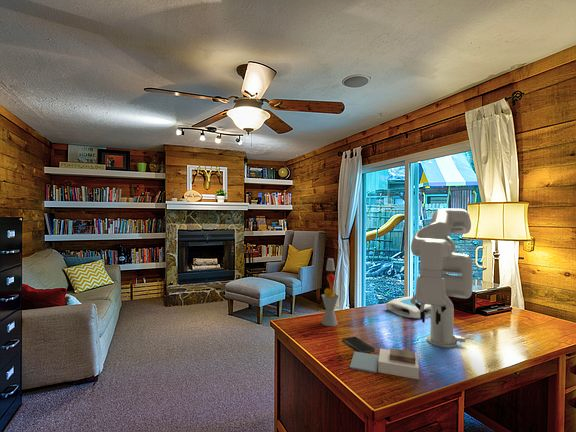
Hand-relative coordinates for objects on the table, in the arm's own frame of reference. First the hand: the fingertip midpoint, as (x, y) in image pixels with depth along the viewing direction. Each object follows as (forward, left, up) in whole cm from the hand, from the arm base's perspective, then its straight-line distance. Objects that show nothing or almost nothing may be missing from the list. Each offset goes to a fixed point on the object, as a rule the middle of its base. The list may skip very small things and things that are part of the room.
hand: (430, 321), depth 114 cm
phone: (+28, -15, -20) cm, 37 cm away
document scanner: (+2, -78, -20) cm, 80 cm away
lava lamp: (+46, -38, -20) cm, 63 cm away
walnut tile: (+10, 0, -15) cm, 18 cm away
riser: (+11, 0, -19) cm, 22 cm away
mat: (+24, 0, -19) cm, 30 cm away
